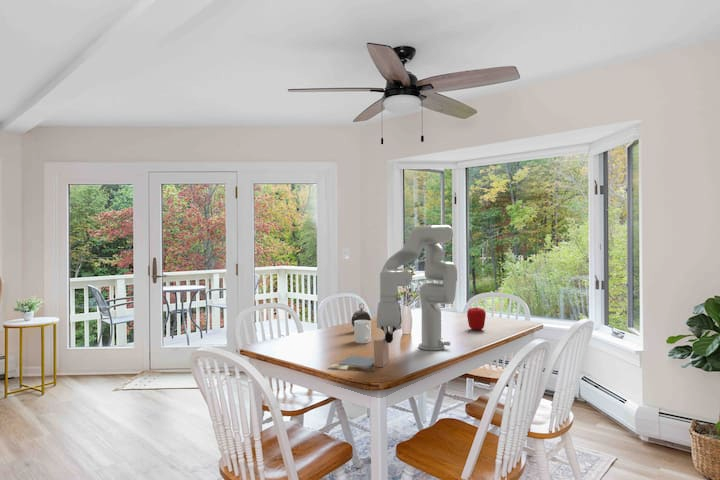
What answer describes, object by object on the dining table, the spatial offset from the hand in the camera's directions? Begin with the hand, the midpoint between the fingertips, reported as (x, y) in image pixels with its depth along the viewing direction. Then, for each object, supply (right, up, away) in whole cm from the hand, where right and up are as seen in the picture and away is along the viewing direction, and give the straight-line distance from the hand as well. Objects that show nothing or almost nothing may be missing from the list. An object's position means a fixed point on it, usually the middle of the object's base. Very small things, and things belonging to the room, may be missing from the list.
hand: (389, 342), depth 195 cm
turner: (-17, -10, -6) cm, 20 cm away
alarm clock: (-11, -9, +68) cm, 69 cm away
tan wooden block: (-3, -10, +1) cm, 10 cm away
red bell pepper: (+55, -9, +71) cm, 90 cm away
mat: (-13, -10, +5) cm, 16 cm away
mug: (-10, -10, +41) cm, 43 cm away
